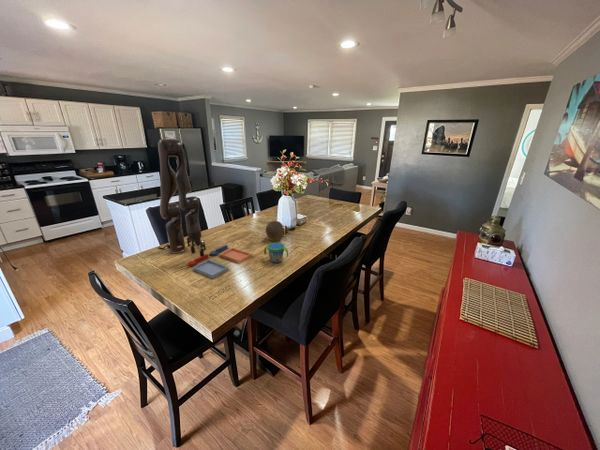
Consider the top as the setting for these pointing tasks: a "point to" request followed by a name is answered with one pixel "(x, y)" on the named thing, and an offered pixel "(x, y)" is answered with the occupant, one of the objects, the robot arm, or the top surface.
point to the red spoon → (197, 260)
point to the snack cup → (276, 251)
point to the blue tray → (210, 268)
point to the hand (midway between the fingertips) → (197, 254)
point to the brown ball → (275, 231)
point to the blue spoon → (218, 250)
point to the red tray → (236, 255)
